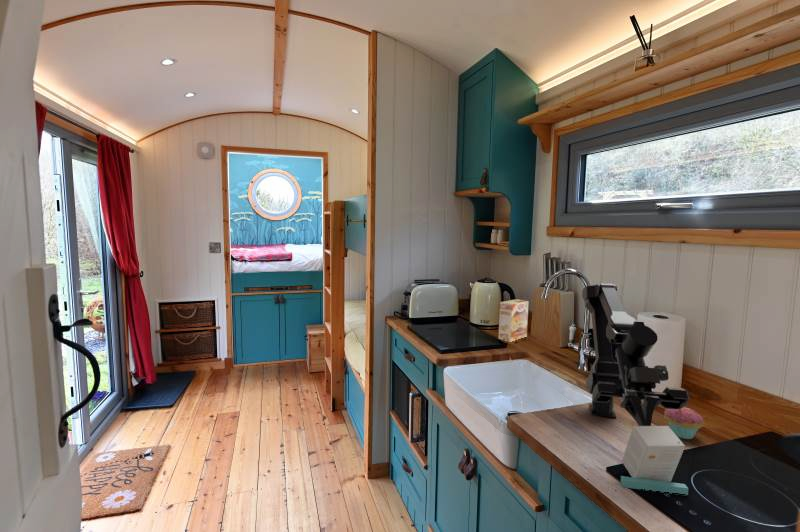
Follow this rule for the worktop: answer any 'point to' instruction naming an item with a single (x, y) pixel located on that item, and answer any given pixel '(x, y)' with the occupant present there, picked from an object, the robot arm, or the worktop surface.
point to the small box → (652, 453)
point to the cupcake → (683, 422)
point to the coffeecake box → (513, 320)
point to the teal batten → (654, 485)
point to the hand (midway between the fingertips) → (647, 433)
